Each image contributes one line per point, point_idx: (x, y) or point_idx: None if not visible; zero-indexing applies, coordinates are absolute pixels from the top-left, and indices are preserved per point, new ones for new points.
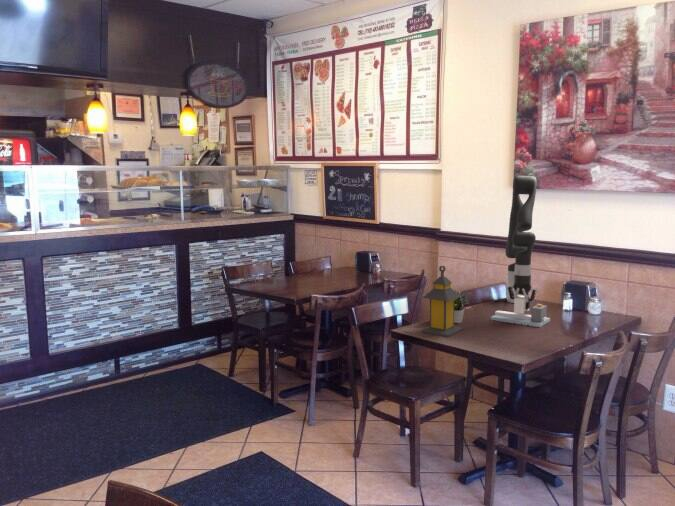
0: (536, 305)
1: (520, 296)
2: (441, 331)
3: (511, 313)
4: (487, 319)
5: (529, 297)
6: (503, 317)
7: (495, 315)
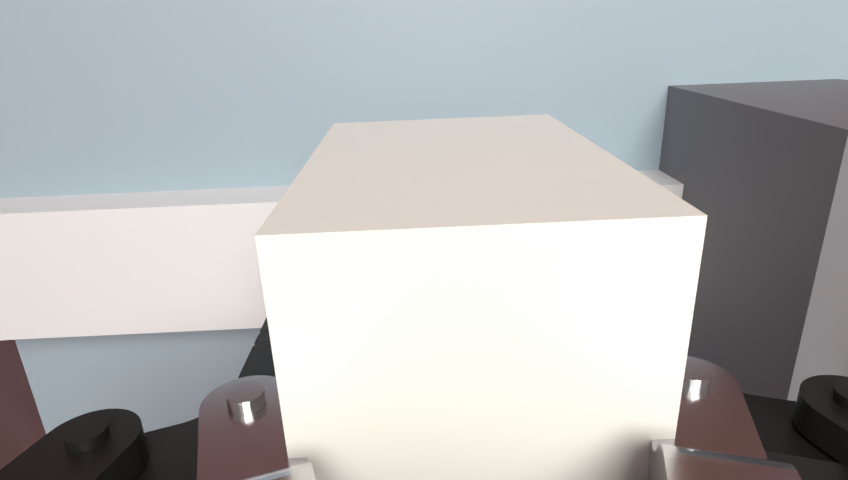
0: (834, 265)
1: (350, 410)
2: None
3: (259, 290)
4: (28, 425)
5: (761, 451)
6: (210, 386)
7: (42, 349)
